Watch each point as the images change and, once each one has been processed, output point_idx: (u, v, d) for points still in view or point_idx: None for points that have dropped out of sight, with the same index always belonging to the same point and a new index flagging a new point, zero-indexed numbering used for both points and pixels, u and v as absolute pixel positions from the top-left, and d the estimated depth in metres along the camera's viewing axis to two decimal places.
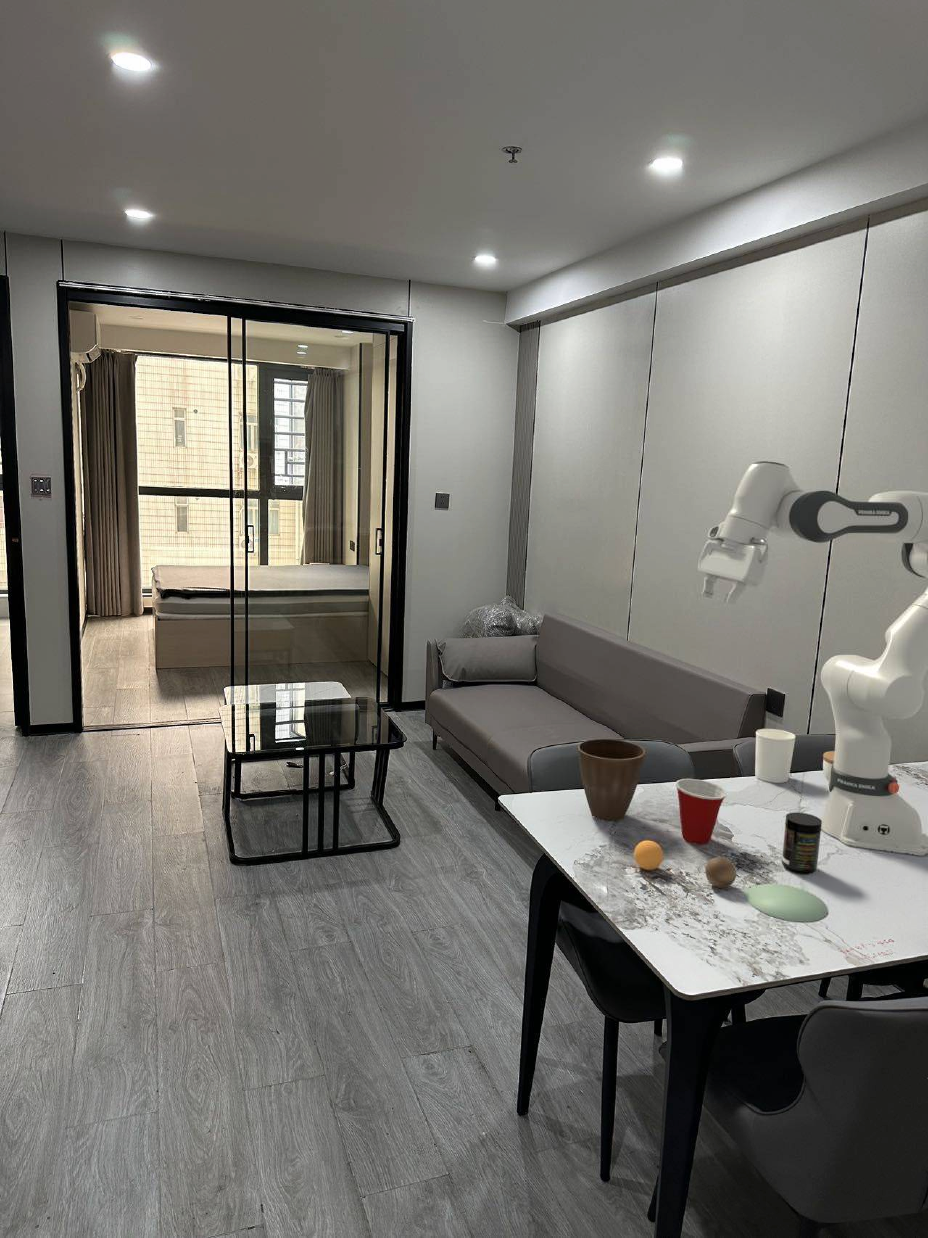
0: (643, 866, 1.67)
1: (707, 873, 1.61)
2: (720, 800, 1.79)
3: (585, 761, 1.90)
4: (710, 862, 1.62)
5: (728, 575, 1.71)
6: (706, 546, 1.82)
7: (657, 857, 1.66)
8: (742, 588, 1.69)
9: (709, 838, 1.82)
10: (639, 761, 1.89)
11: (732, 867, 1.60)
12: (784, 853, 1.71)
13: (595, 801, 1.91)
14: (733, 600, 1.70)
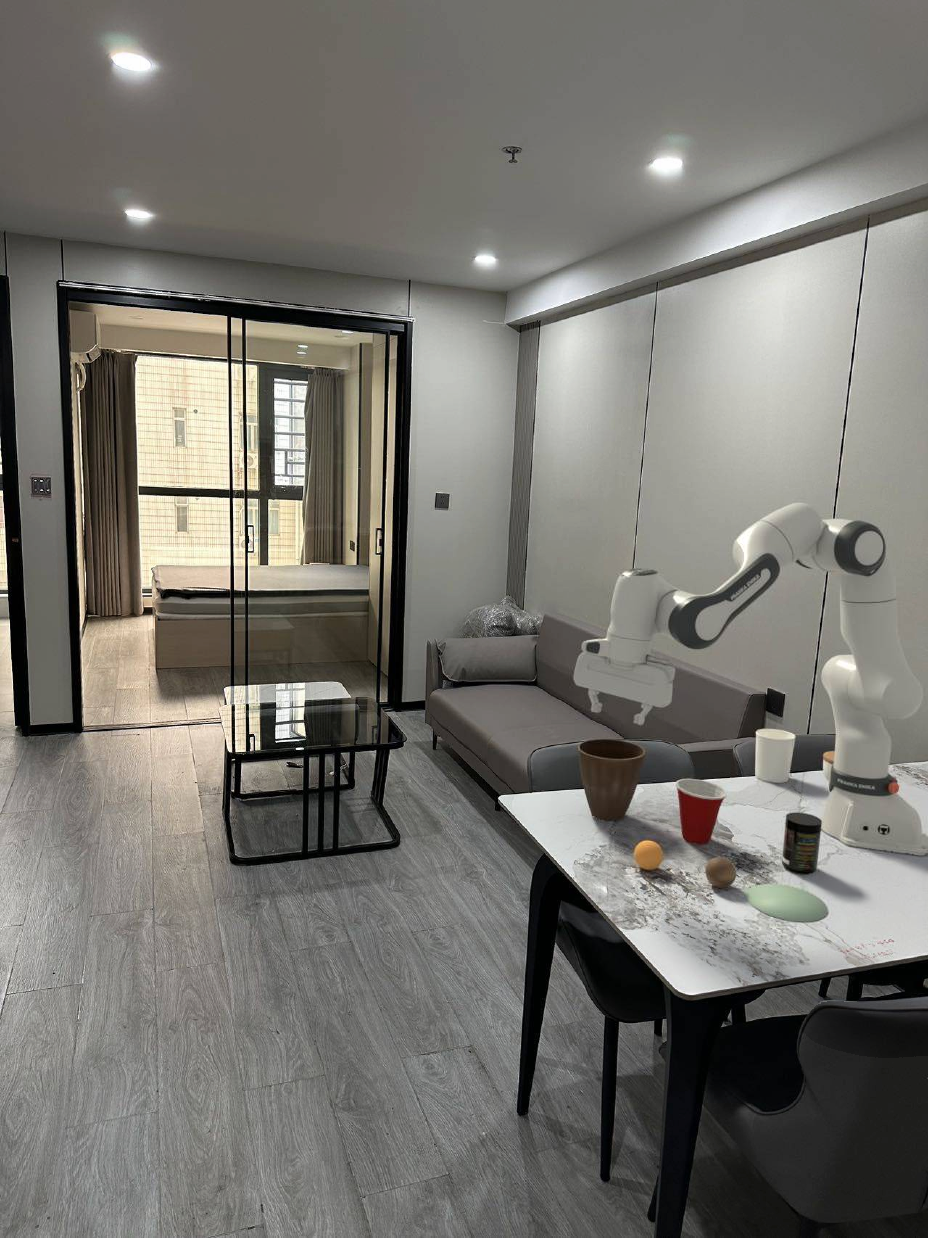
0: (643, 866, 1.67)
1: (707, 873, 1.61)
2: (720, 800, 1.79)
3: (585, 761, 1.90)
4: (710, 862, 1.62)
5: (632, 698, 1.66)
6: (582, 660, 1.72)
7: (657, 857, 1.66)
8: (650, 707, 1.67)
9: (709, 838, 1.82)
10: (639, 761, 1.89)
11: (732, 867, 1.60)
12: (784, 853, 1.71)
13: (595, 801, 1.91)
14: (643, 720, 1.68)
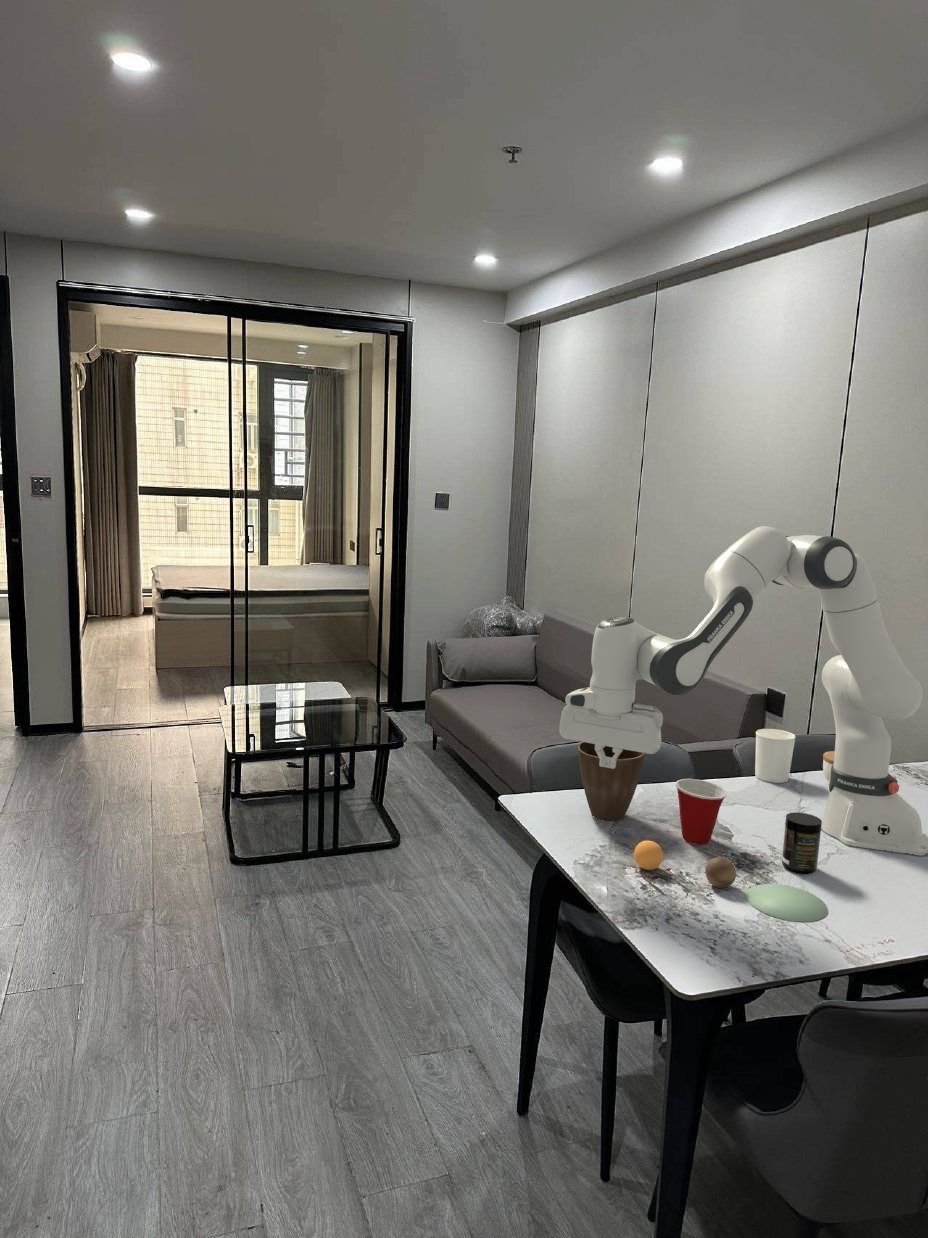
0: (643, 866, 1.67)
1: (707, 873, 1.61)
2: (720, 800, 1.79)
3: (585, 761, 1.90)
4: (710, 862, 1.62)
5: (623, 747, 1.67)
6: (566, 713, 1.71)
7: (657, 857, 1.66)
8: (621, 750, 1.69)
9: (709, 838, 1.82)
10: (639, 761, 1.89)
11: (732, 867, 1.60)
12: (784, 853, 1.71)
13: (595, 801, 1.91)
14: (615, 763, 1.70)
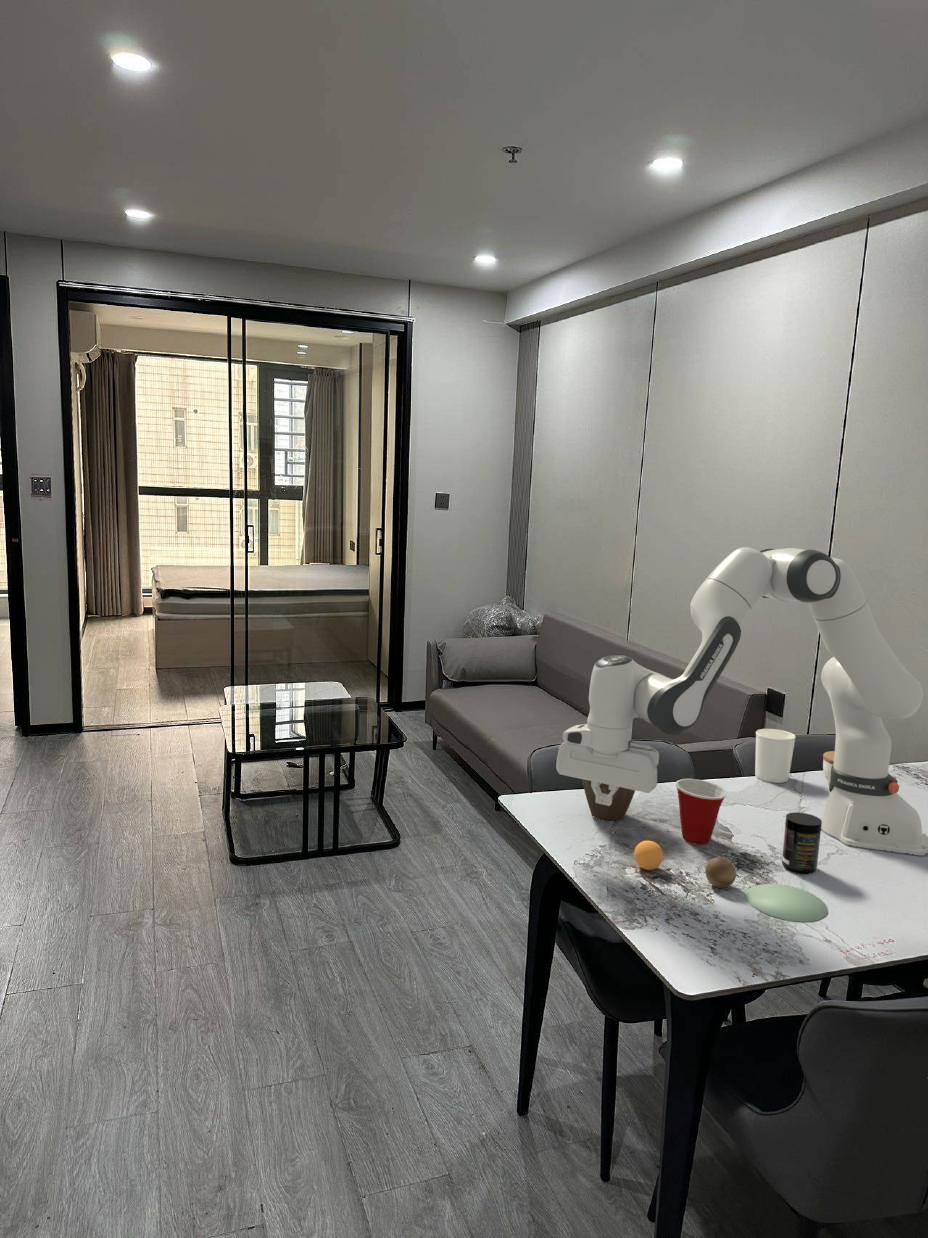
0: (643, 866, 1.67)
1: (707, 873, 1.61)
2: (720, 800, 1.79)
3: None
4: (710, 862, 1.62)
5: (619, 784, 1.68)
6: (563, 750, 1.72)
7: (657, 857, 1.66)
8: (617, 788, 1.70)
9: (709, 838, 1.82)
10: None
11: (732, 867, 1.60)
12: (784, 853, 1.71)
13: None
14: (611, 800, 1.71)
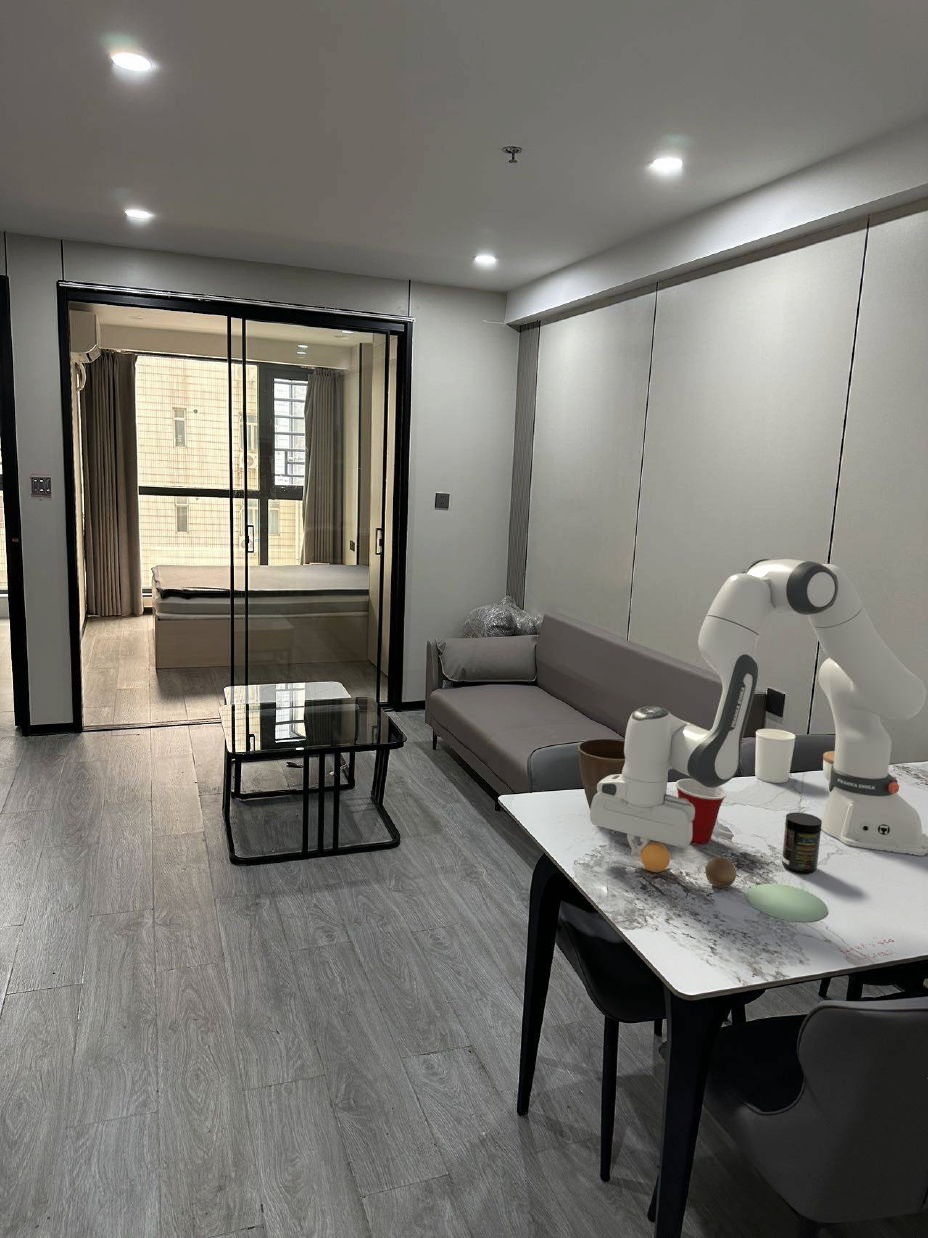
0: (647, 867, 1.66)
1: (707, 873, 1.61)
2: (720, 800, 1.79)
3: (585, 761, 1.90)
4: (710, 862, 1.62)
5: (653, 838, 1.66)
6: (597, 800, 1.71)
7: (665, 865, 1.66)
8: (649, 840, 1.69)
9: (709, 838, 1.82)
10: None
11: (732, 867, 1.60)
12: (784, 853, 1.71)
13: None
14: None
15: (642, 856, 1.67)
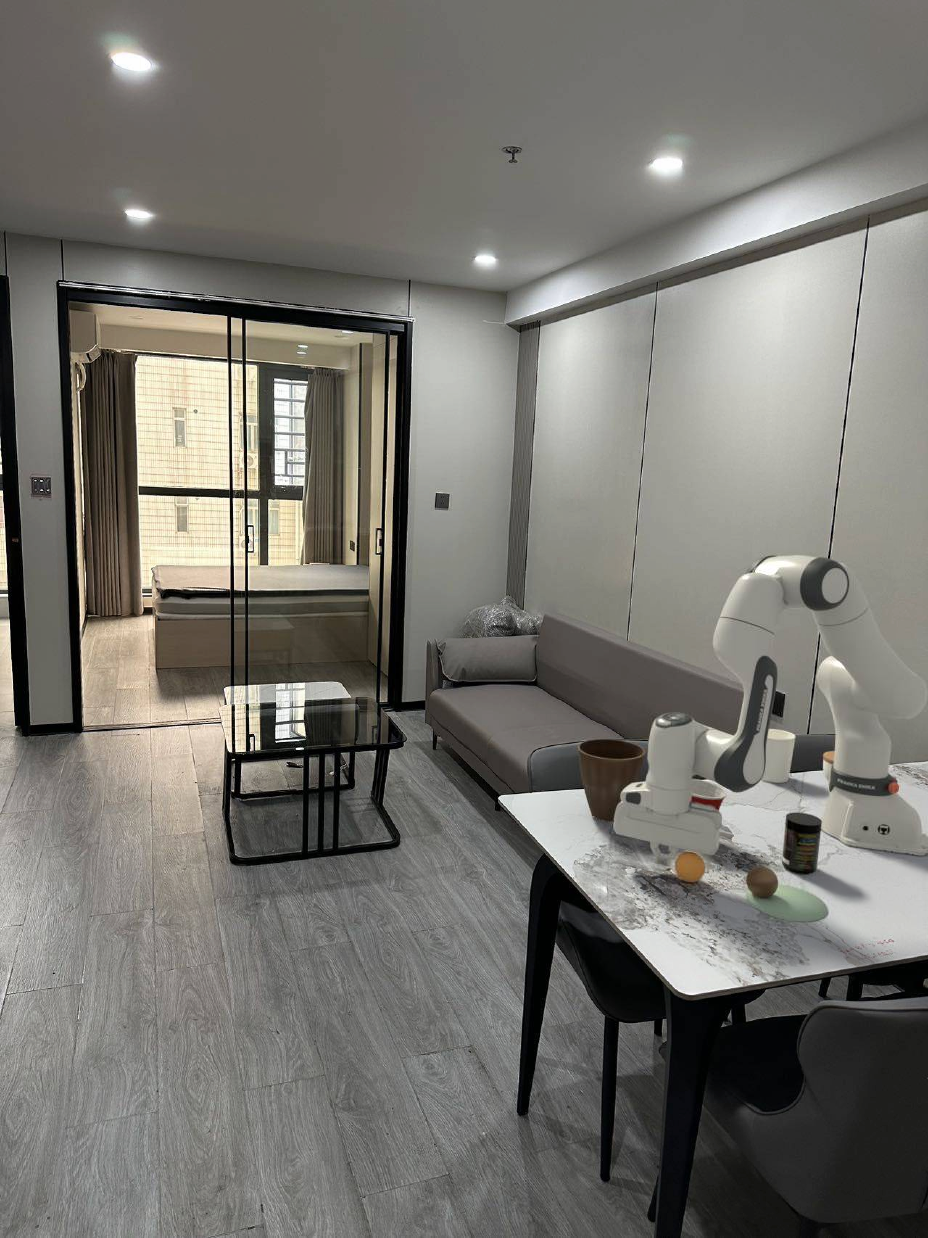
0: (681, 866, 1.62)
1: (771, 883, 1.56)
2: (720, 800, 1.79)
3: (585, 761, 1.90)
4: (775, 890, 1.57)
5: (680, 846, 1.63)
6: (621, 809, 1.68)
7: (681, 878, 1.64)
8: (677, 848, 1.66)
9: None
10: (639, 761, 1.89)
11: None
12: (784, 853, 1.71)
13: (595, 801, 1.91)
14: (671, 861, 1.67)
15: (692, 865, 1.61)
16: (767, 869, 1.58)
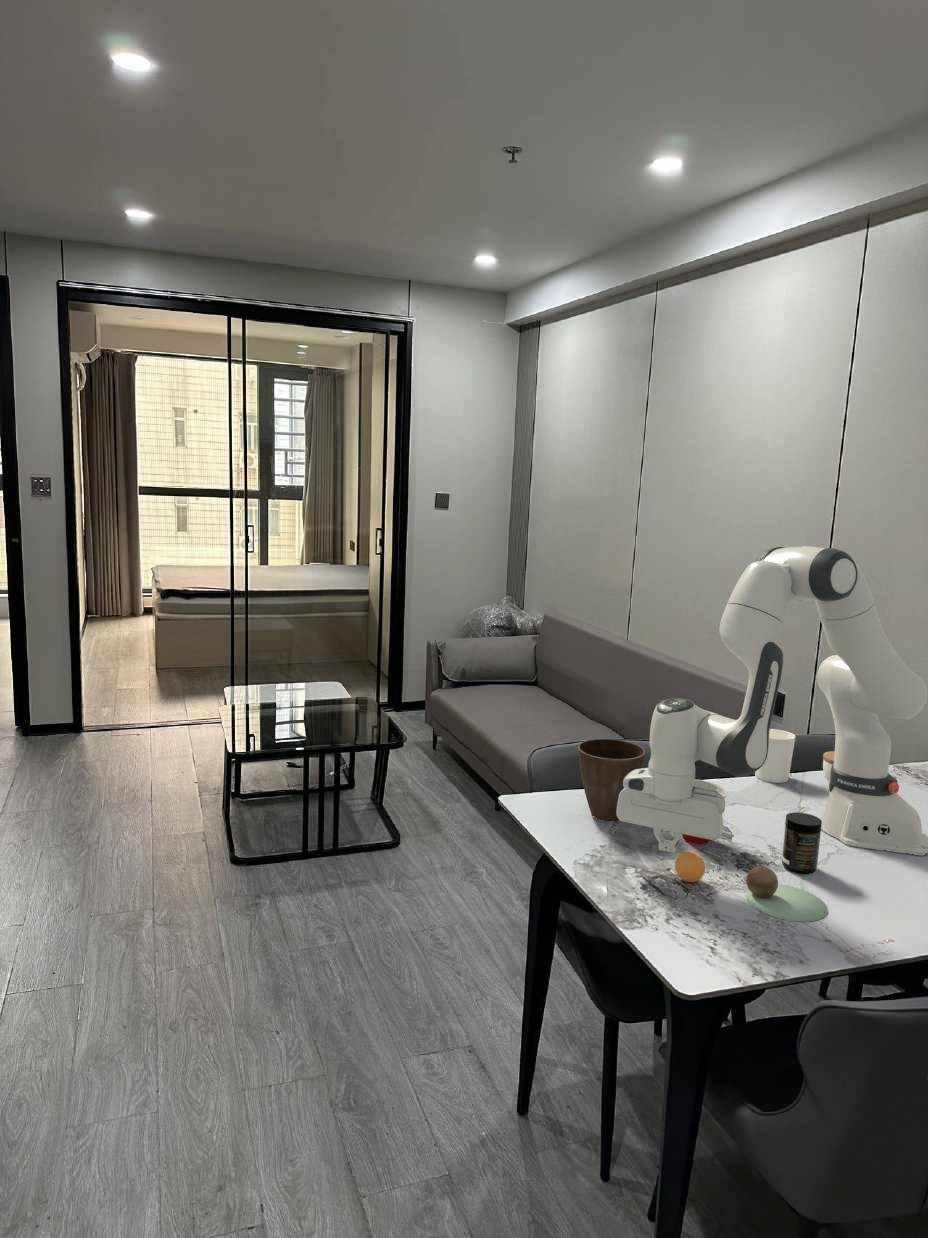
0: (681, 866, 1.62)
1: (771, 883, 1.56)
2: None
3: (585, 761, 1.90)
4: (775, 890, 1.57)
5: (684, 832, 1.63)
6: (624, 796, 1.67)
7: (681, 878, 1.64)
8: (681, 834, 1.66)
9: None
10: (639, 761, 1.89)
11: None
12: (784, 853, 1.71)
13: (595, 801, 1.91)
14: (674, 847, 1.67)
15: (692, 865, 1.61)
16: (767, 869, 1.58)
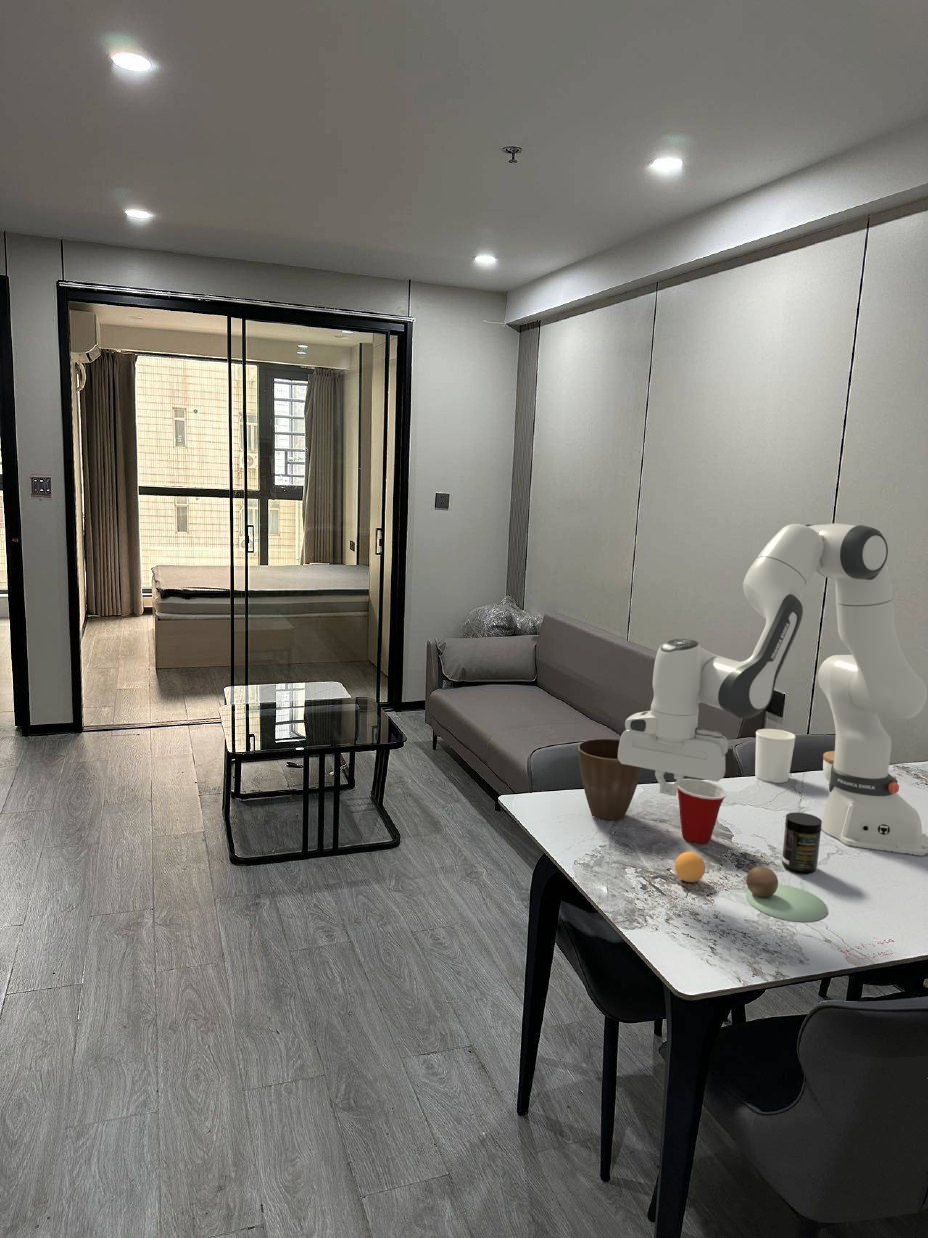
0: (681, 866, 1.62)
1: (771, 883, 1.56)
2: (720, 800, 1.79)
3: (585, 761, 1.90)
4: (775, 890, 1.57)
5: (685, 773, 1.61)
6: (626, 738, 1.65)
7: (681, 878, 1.64)
8: (683, 777, 1.64)
9: (709, 838, 1.82)
10: None
11: None
12: (784, 853, 1.71)
13: (595, 801, 1.91)
14: (676, 790, 1.65)
15: (692, 865, 1.61)
16: (767, 869, 1.58)
